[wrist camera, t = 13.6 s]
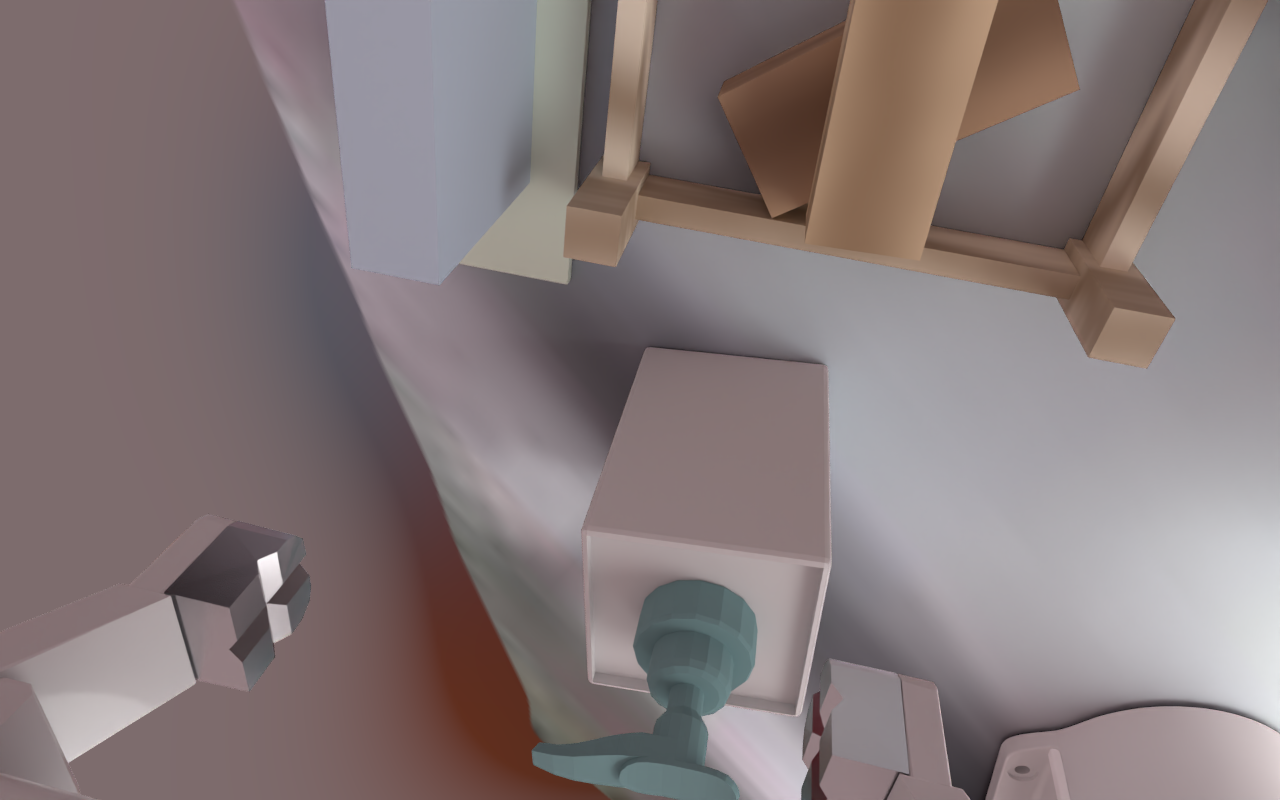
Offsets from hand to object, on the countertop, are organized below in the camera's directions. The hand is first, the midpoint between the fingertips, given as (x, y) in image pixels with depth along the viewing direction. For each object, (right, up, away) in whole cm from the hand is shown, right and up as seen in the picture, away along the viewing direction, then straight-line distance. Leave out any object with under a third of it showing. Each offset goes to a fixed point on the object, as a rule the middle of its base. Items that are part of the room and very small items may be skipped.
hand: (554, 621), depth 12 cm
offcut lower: (+11, +16, +18) cm, 26 cm away
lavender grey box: (-4, +18, +19) cm, 26 cm away
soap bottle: (+6, +2, +28) cm, 29 cm away
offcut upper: (+10, +14, +16) cm, 23 cm away
